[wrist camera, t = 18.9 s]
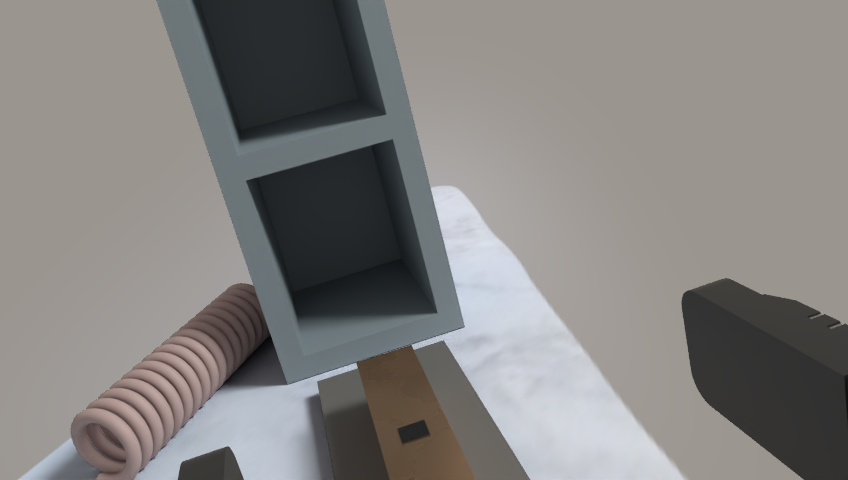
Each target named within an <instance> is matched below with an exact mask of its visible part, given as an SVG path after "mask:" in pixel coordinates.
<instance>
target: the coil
mask: <svg viewBox="0 0 848 480" xmlns="http://www.w3.org/2000/svg"><path fill="white" fill-rule="evenodd" d="M269 335H270V332H269V329H268V326H267V323H266V320H265V317H264V314H263V311H262V308H261V305H260V302H259V299H258V296H257V294H256V291H255V288H254V286H252V285H249V284H241V283H240V284H235V285H232V286H231V287H229V288H228V289H227V290H226V291H225V292H224V293H222V294H221V295H220V296H219V297H218V298H216V299H215V300H214V301H212V302H211V304H210V305H208V306H207V307H205V308H204V309H203V310H202V311H201V312H200V313H198V314H197V315H196V316H195V317H194V318H193V319H191V320H190V321H189V322H188V323H187V324H185V325H184V326H183V327H181V328H180V329H179V331H177V332H176V333H174V334H173V335H172V336H171V337H170V338H169V339H167V340H166V341H165V342H163V343H162V345H161V346H160V347H158V348H156V349H155V350H154V351H153V352H152V353H151V354H150V355H148V356H147V357H146V358H144V359H143V361H142V362H141V363H139V364H138V365H136V366H135V367H134V368H133V369H132V370H131V371H130V372H128V373H127V374H125V375H124V376H123V377H122V378H121V380H120V381H117V382H116V383H115V384H113V385H112V386H111V388H110V389H109V390H107V391H106V392H104V393H103V394H101V395H100V397H99V398H98V400H95V401H94V402H92V403H91V404H90V405H89V406H88V407H87V408H86V410H83V411H82V412H80V413H79V414H77V415H76V417H75V418H74V420H73V422H72V425H71V437H72V440H73V443H74V445H75V447H76V449H77V451H78V452H79V454H80V455H81V456H82V457H83V458H84V459H85V460H86V461H87V462H88V463H89V464H90V465H92V466H93V467H95V468H96V469H98V470H100V471H102V472H101V473H99V475H98V476H97V479H96V480H133V479H134V478H135V477H136V475H137V474H138V472H139V471H140V470H142V469H143V468H144V467H145V466H146V465H147V464H148V462H149V461H150V460H151V459H152V458H153V457H155V456H156V455H157V454H158V452H159V451H160V449H161V448H162V447H164V446H165V445H166V444H167V443H168V442H169V440H170V439H171V438H172V437H173V436H175V435H176V434H177V432H178V431H179V430H180V428H181V427H183V426H184V425H185V424H186V423H187V422H188V420H189V419H190V418H191V417H192V416H194V415H195V413H196V412H197V411H198V409H199V408H201V407H202V406H203V405H204V404H205V403H206V401H207V400H208V399H209V398H211V397H212V395H213V394H214V393H215V391H217V390H218V389H219V388H220V387H221V386H222V384H223V383H224V382H225V381H227V380H228V379H229V377H230V376H231V375H232V374H233V373H234V372H235V371H236V370H237V369H238V367H239V366H241V365H242V364H243V363H244V362H245V360H246V359H247V358H249V356H250V355H251V354H252V352H254V351H255V350H256V349H257V348H258V347H259V345H261V344H262V343H263V342H264V340H265V339H266V338H267V337H268V336H269ZM100 428H101V429H102V430H101V429H100ZM102 431H103V432H104V433H103V432H102ZM104 434H105V435H106V436H107V437H108V438H109V439H110V440H111V441H112V442H111V441H110V440H109V439H108V438H107V437H106V436H105V435H104ZM87 436H88V437H87ZM88 438H89V439H90V441H91V442H92V444H93V445H94V446H95V447H96V448H97V449H98V450H99V451H100V452H101V453H103V454H104V455H105V456H104V455H103V454H101V453H100V452H99V451H98V450H97V449H96V448H95V447H94V446H93V445H92V444H91V442H90V441H89V439H88ZM113 442H114V443H115V444H114V443H113ZM117 445H118V446H117ZM119 446H120V447H119ZM106 456H107V457H106ZM108 457H109V458H108Z"/></svg>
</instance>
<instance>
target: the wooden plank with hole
mask: <svg viewBox="0 0 848 480" xmlns="http://www.w3.org/2000/svg"><path fill="white" fill-rule="evenodd" d="M357 367H358V370H359V374H360V377H361V381H362V384H363V388H364V391H365V395H366V398H367V402H368V405H369V409H370V412H371V416H372V419H373V423H374V426H375V430H376V433H377V437H378V440H379V444H380V447H381V451H382V454H383V458H384V461H385V465H386V468H387V472H388V475H389V479H390V480H476V479H475V477H474V475H473V473H472V471H471V468H470V466H469V464H468V462H467V460H466V458H465V456H464V454H463V452H462V450H461V448H460V446H459V443H458V441H457V439H456V437H455V435H454V433H453V431H452V429H451V427H450V425H449V423H448V420H447V418H446V416H445V414H444V412H443V410H442V408H441V406H440V404H439V402H438V400H437V398H436V395H435V393H434V391H433V389H432V387H431V385H430V383H429V381H428V379H427V377H426V375H425V373H424V370H423V368H422V366H421V364H420V362H419V360H418V358H417V356H416V354H415V352H414V350H413V348H412V345H410V346H407V347H404V348H400V349H397V350H394V351H391V352H388V353H385V354H382V355H379V356H375V357H372V358H369V359H366V360H363V361H360V362H357Z"/></svg>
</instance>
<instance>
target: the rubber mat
mask: <svg viewBox="0 0 848 480" xmlns="http://www.w3.org/2000/svg"><path fill="white" fill-rule="evenodd" d="M414 352H415V354H416V356H417V358H418V360H419V362H420V364H421V366H422V368H423V370H424V373H425V375H426V377H427V379H428V381H429V383H430V385H431V387H432V389H433V391H434V393H435V395H436V398H437V400H438V402H439V404H440V406H441V408H442V410H443V412H444V414H445V416H446V418H447V420H448V423H449V425H450V427H451V429H452V431H453V433H454V435H455V437H456V439H457V441H458V443H459V446H460V448H461V450H462V452H463V454H464V456H465V458H466V460H467V462H468V464H469V466H470V468H471V471H472V473H473V475H474V477H475V479H476V480H530V479H529V477H528V475H527V474H526V472H525V471H524V469H523V467H522V466H521V464H520V462H519V461H518V459H517V458H516V456H515V454H514V453H513V451H512V450H511V448H510V446H509V445H508V443H507V442H506V440H505V438H504V437H503V435H502V434H501V432H500V430H499V429H498V427H497V425H496V424H495V422H494V421H493V419H492V417H491V416H490V414H489V413H488V411H487V409H486V408H485V406H484V405H483V403H482V401H481V400H480V398H479V397H478V395H477V393H476V392H475V390H474V388H473V387H472V385H471V384H470V382H469V380H468V379H467V377H466V376H465V374H464V372H463V371H462V369H461V368H460V366H459V364H458V363H457V361H456V360H455V358H454V356H453V355H452V353H451V352H450V350H449V348H448V347H447V345H446V343H445V342H444V340H443V341H440V342H437V343H434V344H431V345H428V346H425V347H422V348H419V349H416V350H414ZM317 383H318V389H319V394H320V400H321V406H322V411H323V417H324V422H325V428H326V433H327V439H328V445H329V450H330V456H331V461H332V467H333V473H334V478H335V480H390V479H389V475H388V472H387V468H386V465H385V461H384V458H383V454H382V451H381V447H380V444H379V440H378V437H377V433H376V430H375V426H374V423H373V419H372V416H371V412H370V409H369V405H368V402H367V398H366V395H365V391H364V388H363V384H362V381H361V377H360V374H359V370H358V369H355V370H352V371H349V372H345V373H342V374H339V375H336V376H333V377H330V378H327V379H324V380H321V381H318V382H317Z"/></svg>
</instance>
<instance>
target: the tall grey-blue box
mask: <svg viewBox="0 0 848 480" xmlns="http://www.w3.org/2000/svg"><path fill="white" fill-rule="evenodd" d="M156 1H157V4H158V7H159V9H160V12H161V15H162V18H163V21H164V24H165V27H166V30H167V33H168V36H169V39H170V41H171V45H172V48H173V50H174V53H175V56H176V59H177V62H178V65H179V68H180V71H181V74H182V77H183V80H184V83H185V85H186V89H187V91H188V94H189V97H190V100H191V103H192V106H193V109H194V111H195V115H196V118H197V121H198V123H199V126H200V129H201V132H202V135H203V138H204V141H205V144H206V146H207V150H208V153H209V156H210V159H211V162H212V165H213V167H214V170H215V173H216V176H217V179H218V182H219V185H220V188H221V191H222V194H223V197H224V200H225V202H226V205H227V208H228V212H229V214H230V217H231V220H232V223H233V226H234V229H235V232H236V235H237V238H238V241H239V244H240V247H241V250H242V252H243V255H244V258H245V261H246V264H247V267H248V270H249V273H250V276H251V279H252V282H253V285H254V288H255V291H256V294H257V296H258V299H259V302H260V305H261V308H262V311H263V314H264V317H265V320H266V323H267V326H268V329H269V332H270V335H271V337H272V340H273V343H274V346H275V349H276V352H277V355H278V358H279V361H280V364H281V367H282V370H283V373H284V376H285V378H286V381H287V384H290V383H293V382H296V381H299V380H302V379H305V378H308V377H311V376H314V375H317V374H321V373H324V372H327V371H330V370H333V369H336V368H339V367H342V366H345V365H348V364H351V363H354V362H357V361H361V360H364V359H367V358H370V357H373V356H376V355H379V354H382V353H385V352H388V351H391V350H394V349H397V348H401V347H404V346H407V345H410V344H413V343H416V342H419V341H422V340H425V339H428V338H431V337H434V336H437V335H441V334H444V333H447V332H450V331H453V330H456V329H459V328H462V327H465V326H464V322H463V318H462V314H461V310H460V306H459V302H458V298H457V294H456V290H455V286H454V282H453V277H452V273H451V269H450V265H449V261H448V257H447V253H446V249H445V245H444V241H443V237H442V233H441V229H440V225H439V221H438V217H437V213H436V209H435V205H434V201H433V196H432V192H431V188H430V184H429V180H428V176H427V172H426V168H425V164H424V160H423V156H422V152H421V148H420V144H419V140H418V136H417V132H416V128H415V124H414V120H413V115H412V112H411V107H410V104H409V99H408V95H407V91H406V87H405V83H404V79H403V75H402V71H401V67H400V63H399V59H398V55H397V51H396V47H395V43H394V39H393V34H392V30H391V26H390V22H389V19H388V14H387V10H386V6H385V2H384V0H156Z"/></svg>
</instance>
